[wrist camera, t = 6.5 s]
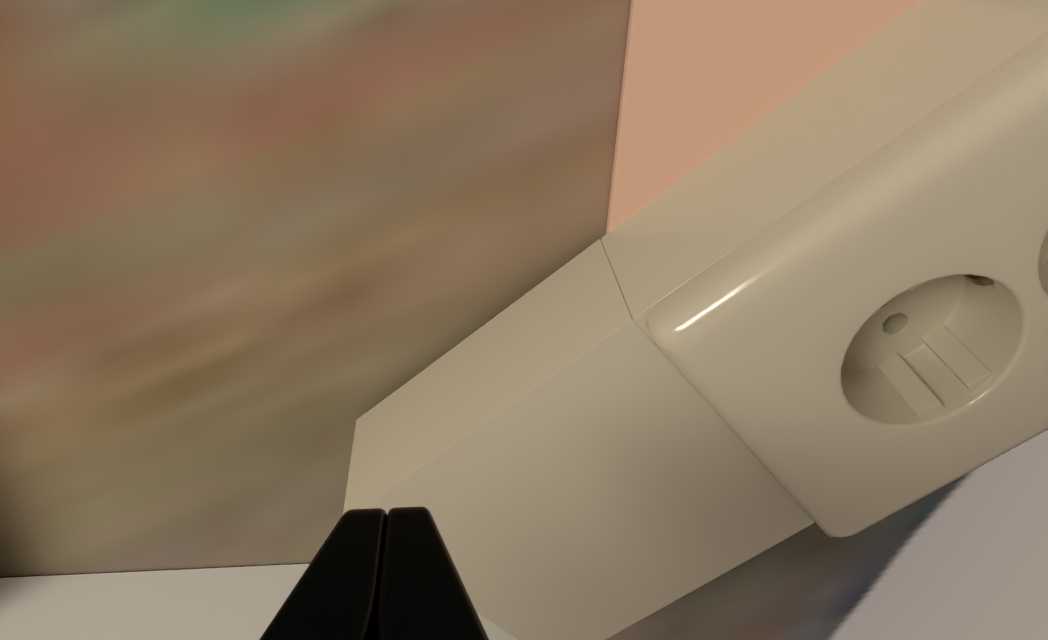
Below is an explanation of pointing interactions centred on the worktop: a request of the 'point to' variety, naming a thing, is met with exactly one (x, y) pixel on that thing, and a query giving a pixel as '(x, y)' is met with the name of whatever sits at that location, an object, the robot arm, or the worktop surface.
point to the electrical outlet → (753, 342)
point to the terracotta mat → (719, 78)
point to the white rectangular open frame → (154, 604)
